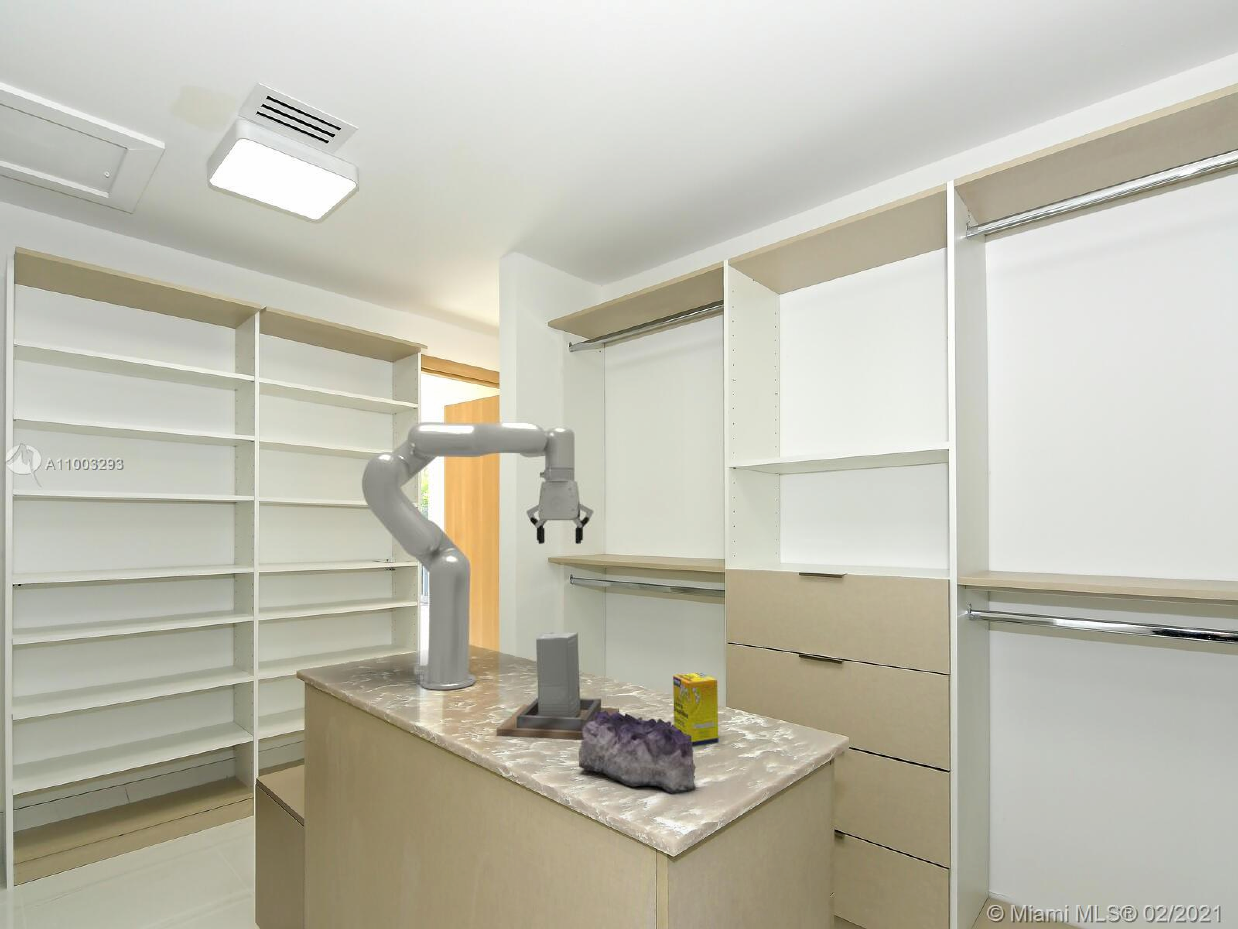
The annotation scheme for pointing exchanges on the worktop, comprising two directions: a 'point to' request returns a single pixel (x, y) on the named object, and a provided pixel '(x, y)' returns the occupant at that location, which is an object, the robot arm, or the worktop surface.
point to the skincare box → (558, 675)
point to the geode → (638, 752)
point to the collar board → (551, 722)
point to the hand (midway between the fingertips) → (559, 543)
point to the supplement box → (696, 707)
